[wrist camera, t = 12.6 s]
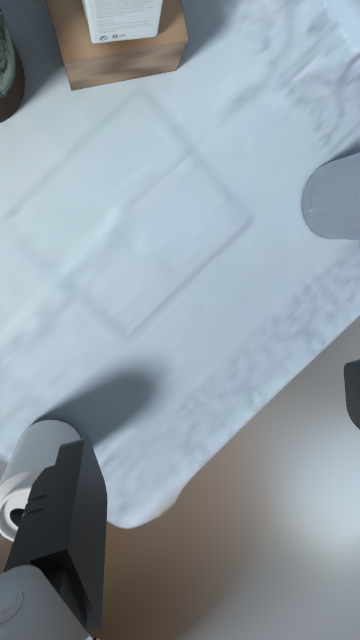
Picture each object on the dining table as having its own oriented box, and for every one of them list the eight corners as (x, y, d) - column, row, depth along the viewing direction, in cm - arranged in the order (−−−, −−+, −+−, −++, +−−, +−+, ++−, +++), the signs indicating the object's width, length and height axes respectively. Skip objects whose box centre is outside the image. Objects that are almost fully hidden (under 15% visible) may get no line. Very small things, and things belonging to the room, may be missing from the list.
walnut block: (151, -47, 33) (160, -106, 28) (175, 70, 36) (188, 39, 30) (36, -31, 32) (21, -89, 26) (71, 90, 35) (64, 62, 29)
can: (5, 441, 42) (-34, 519, 30) (55, 404, 42) (34, 467, 31) (47, 479, 44) (26, 565, 33) (94, 444, 44) (89, 517, 33)
